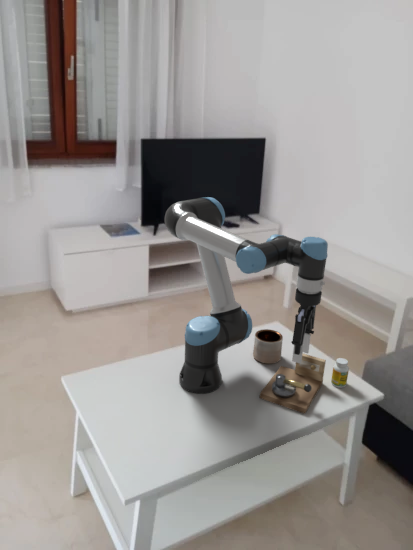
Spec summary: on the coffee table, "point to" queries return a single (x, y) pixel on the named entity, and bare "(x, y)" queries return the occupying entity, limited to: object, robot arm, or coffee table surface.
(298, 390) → the stand
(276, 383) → the ball knob lever
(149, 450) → the coffee table surface
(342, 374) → the supplement bottle
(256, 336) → the planter
